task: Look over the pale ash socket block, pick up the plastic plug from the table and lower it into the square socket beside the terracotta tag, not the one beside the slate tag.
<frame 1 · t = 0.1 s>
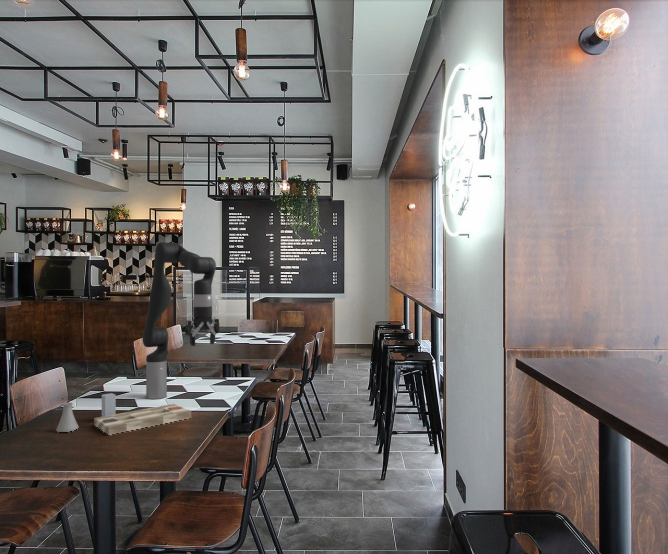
hand: (202, 344, 203), 29 cm above the table, tool pointing down, fingers open, 8 cm apart
flask: (67, 431, 184), on the table
plug: (108, 419, 198), on the table
socket block: (144, 422, 194), on the table
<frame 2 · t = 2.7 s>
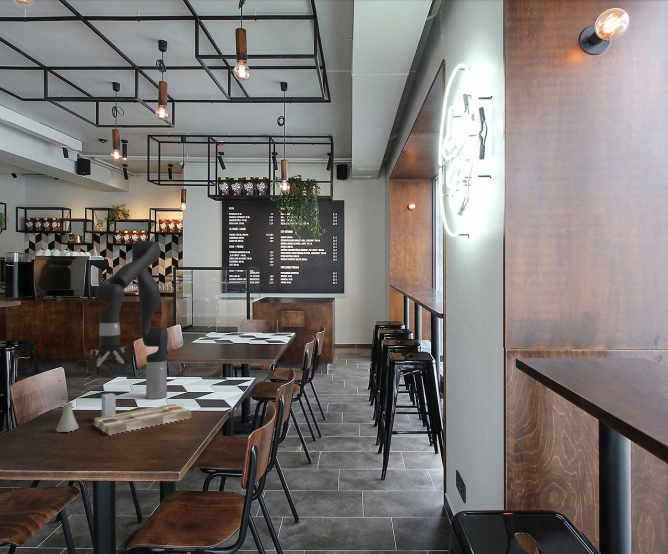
hand: (109, 374, 198), 18 cm above the table, tool pointing down, fingers open, 8 cm apart
nothing on the table moved.
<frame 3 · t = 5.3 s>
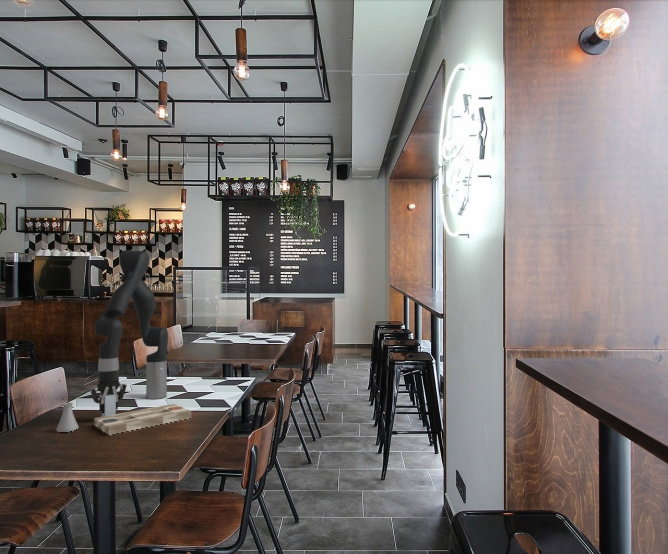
hand: (108, 411, 198), 3 cm above the table, tool pointing down, fingers closed on plug, 4 cm apart
plug: (108, 419, 198), on the table, touching gripper
everything else where it was.
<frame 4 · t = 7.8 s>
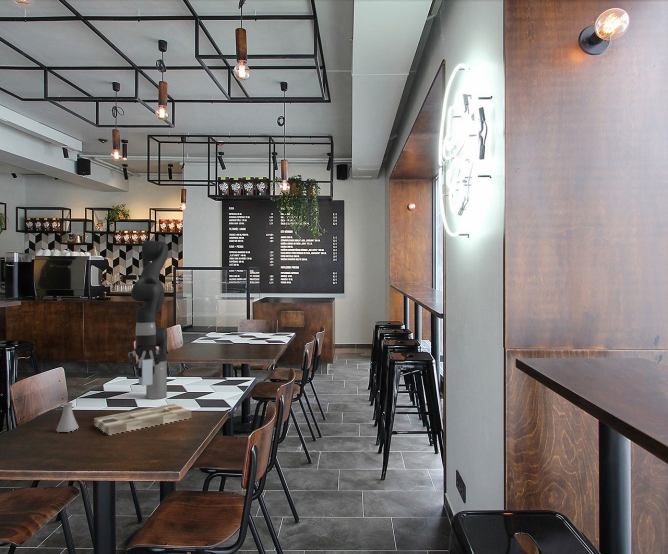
hand: (145, 376, 199), 17 cm above the table, tool pointing down, fingers closed on plug, 4 cm apart
plug: (145, 384, 198), point 14 cm above the table, touching gripper
everything else where it was.
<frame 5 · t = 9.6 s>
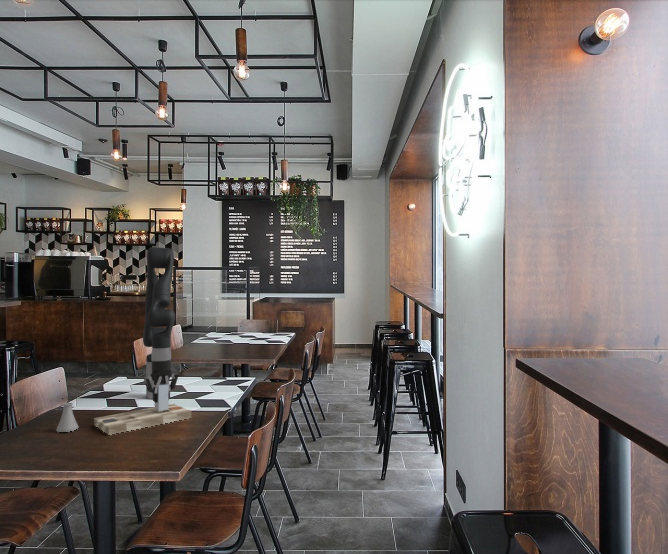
hand: (161, 401, 199), 7 cm above the table, tool pointing down, fingers closed on plug, 4 cm apart
plug: (161, 409, 199), point 4 cm above the table, touching gripper
everything else where it was.
when the fingers open (5 cm above the table, at t = 10.8 s): plug drops 1 cm, resting in socket block.
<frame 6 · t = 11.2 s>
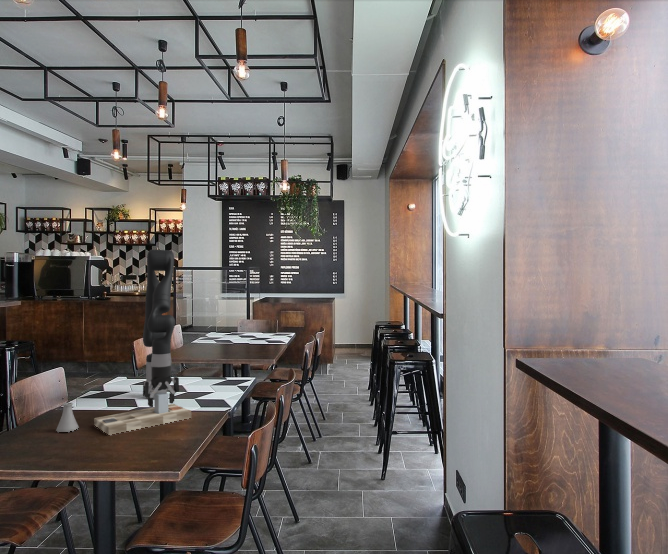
hand: (161, 404, 199), 6 cm above the table, tool pointing down, fingers open, 8 cm apart
plug: (161, 418, 199), resting in socket block
everything else where it was.
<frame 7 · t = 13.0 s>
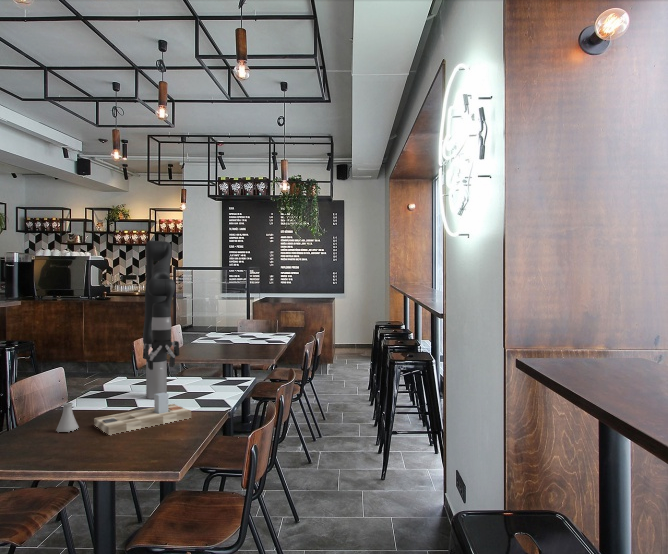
hand: (161, 368, 200), 20 cm above the table, tool pointing down, fingers open, 8 cm apart
nothing on the table moved.
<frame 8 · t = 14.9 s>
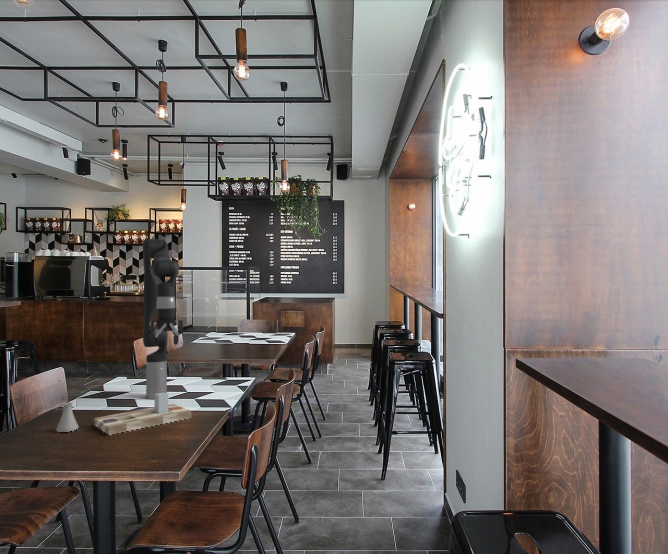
hand: (165, 345, 210), 28 cm above the table, tool pointing down, fingers open, 8 cm apart
nothing on the table moved.
at the end: plug 0.1 cm from the target spot on the socket block, point 0.0 cm above the socket block's base; plug tilted 0°; the gripper is holding nothing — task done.
